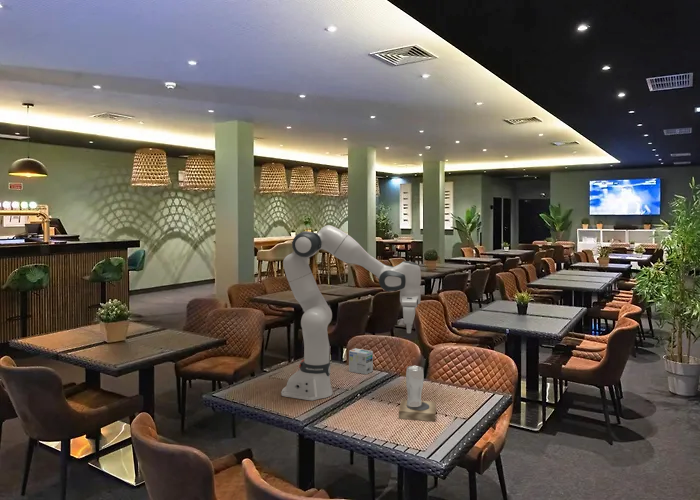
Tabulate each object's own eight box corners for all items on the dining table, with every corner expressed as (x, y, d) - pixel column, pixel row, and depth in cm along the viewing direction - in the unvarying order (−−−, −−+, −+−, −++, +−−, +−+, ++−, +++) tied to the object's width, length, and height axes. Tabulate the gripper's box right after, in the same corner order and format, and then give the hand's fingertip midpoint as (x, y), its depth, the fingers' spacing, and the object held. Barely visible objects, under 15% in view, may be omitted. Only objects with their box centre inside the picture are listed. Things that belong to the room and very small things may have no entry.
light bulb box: (373, 371, 259) (373, 350, 258) (366, 375, 253) (366, 353, 252) (355, 368, 265) (355, 347, 264) (348, 371, 259) (348, 350, 258)
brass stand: (398, 418, 199) (398, 410, 199) (401, 406, 212) (401, 398, 212) (435, 421, 197) (435, 413, 196) (435, 409, 209) (435, 401, 209)
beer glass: (422, 409, 200) (423, 371, 199) (404, 407, 202) (405, 369, 201) (423, 402, 207) (424, 366, 206) (406, 401, 209) (407, 365, 208)
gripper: (404, 295, 232) (404, 325, 233) (401, 302, 212) (400, 335, 212) (418, 295, 231) (418, 325, 231) (416, 303, 210) (415, 336, 211)
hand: (409, 330), depth 222 cm, fingers open, 8 cm apart
